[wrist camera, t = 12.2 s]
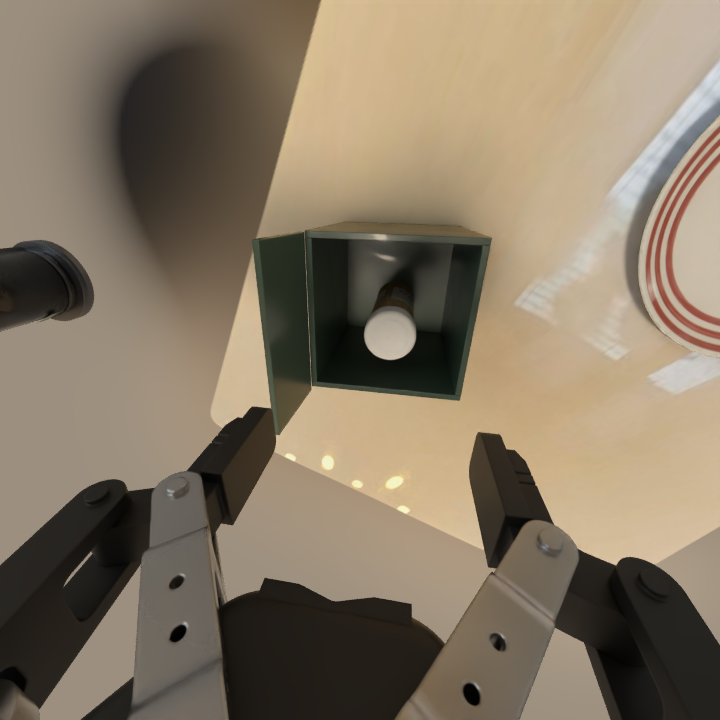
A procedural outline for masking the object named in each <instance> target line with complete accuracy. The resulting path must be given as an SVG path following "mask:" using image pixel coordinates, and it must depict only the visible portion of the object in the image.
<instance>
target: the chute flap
mask: <svg viewBox="0 0 720 720" xmlns="http://www.w3.org/2000/svg"><path fill="white" fill-rule="evenodd" d="M252 244H253V253H254V261H255V270H256V279H257V288H258V296H259V305H260V314H261V322H262V331H263V340H264V349H265V357H266V366H267V375H268V384H269V392H270V401H271V409H272V411H273V417H274V426H275V434H276V435H280V433H281V432H282V430H283V429H284V428H285V426H286V425H287V423H288V422H289V420H290V419H291V418H292V416H293V415H294V413H295V412H296V411H297V409H298V408H299V406H300V405H301V404H302V402H303V401H304V399H305V398H306V396H307V395H308V394H309V392H310V391H311V372H310V351H309V329H308V308H307V286H306V265H305V243H304V232H294V233H288V234H282V235H276V236H270V237H264V238H258V239H253V240H252Z"/></svg>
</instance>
